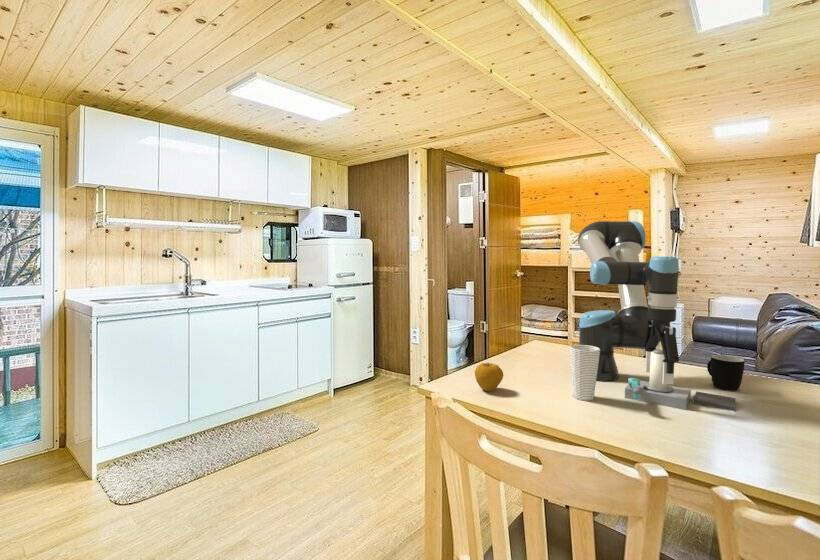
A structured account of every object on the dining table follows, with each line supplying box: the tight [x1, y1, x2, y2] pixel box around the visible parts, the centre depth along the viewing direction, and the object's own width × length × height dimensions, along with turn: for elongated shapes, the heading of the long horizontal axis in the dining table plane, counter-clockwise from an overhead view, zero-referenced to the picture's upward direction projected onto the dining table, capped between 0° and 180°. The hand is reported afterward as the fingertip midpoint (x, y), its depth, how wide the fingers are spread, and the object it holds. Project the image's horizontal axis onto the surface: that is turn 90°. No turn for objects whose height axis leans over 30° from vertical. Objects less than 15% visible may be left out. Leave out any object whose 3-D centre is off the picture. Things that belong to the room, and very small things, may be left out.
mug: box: [706, 354, 745, 392], centre depth 146 cm, size 12×9×10 cm
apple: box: [474, 362, 504, 392], centre depth 140 cm, size 9×9×9 cm
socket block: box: [624, 379, 692, 411], centre depth 134 cm, size 16×12×4 cm
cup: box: [569, 344, 600, 402], centre depth 133 cm, size 8×8×16 cm
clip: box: [627, 377, 642, 401], centre depth 128 cm, size 17×3×3 cm, turn 156°
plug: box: [643, 349, 673, 393], centre depth 134 cm, size 8×8×15 cm
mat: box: [692, 391, 737, 412], centre depth 131 cm, size 10×10×1 cm
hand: (658, 377), depth 134 cm, fingers open, 12 cm apart
